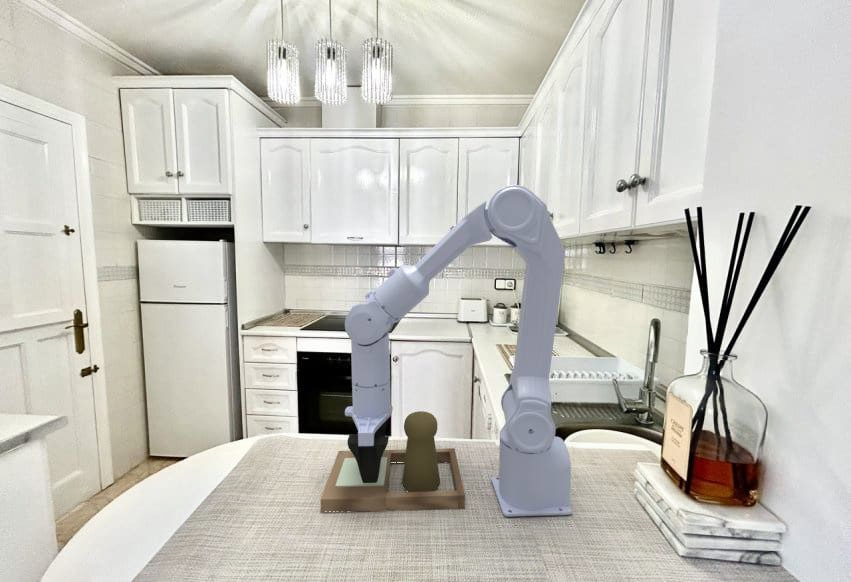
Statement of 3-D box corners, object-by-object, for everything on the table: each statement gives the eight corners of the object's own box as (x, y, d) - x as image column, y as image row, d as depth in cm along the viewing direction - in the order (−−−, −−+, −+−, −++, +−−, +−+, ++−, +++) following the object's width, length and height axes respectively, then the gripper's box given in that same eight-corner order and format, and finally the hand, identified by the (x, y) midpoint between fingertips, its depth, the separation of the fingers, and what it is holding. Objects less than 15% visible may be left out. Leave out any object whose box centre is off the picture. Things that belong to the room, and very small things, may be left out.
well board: (454, 459, 61) (454, 447, 60) (464, 508, 49) (464, 493, 49) (339, 462, 60) (338, 449, 60) (320, 512, 48) (320, 498, 48)
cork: (436, 498, 51) (436, 426, 50) (397, 492, 52) (396, 422, 51) (443, 472, 57) (443, 408, 56) (407, 468, 58) (406, 405, 57)
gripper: (352, 366, 60) (354, 441, 61) (333, 400, 45) (337, 498, 47) (394, 365, 60) (395, 440, 61) (388, 399, 45) (389, 497, 47)
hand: (373, 465), depth 54 cm, fingers open, 7 cm apart
